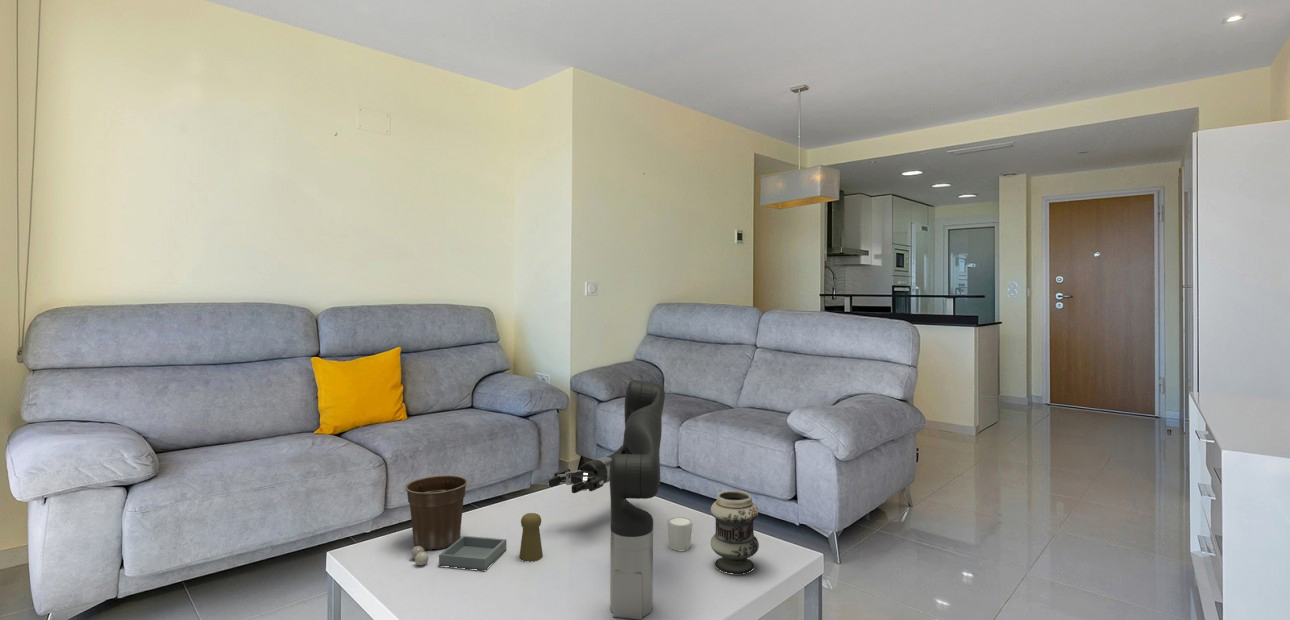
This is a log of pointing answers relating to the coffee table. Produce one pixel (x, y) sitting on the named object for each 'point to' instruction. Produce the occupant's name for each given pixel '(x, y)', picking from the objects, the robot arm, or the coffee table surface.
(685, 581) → the coffee table surface
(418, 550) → the pebble
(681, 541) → the white cup
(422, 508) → the plant pot
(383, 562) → the coffee table surface
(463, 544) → the slate dish
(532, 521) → the cork
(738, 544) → the apothecary jar
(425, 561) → the pebble
